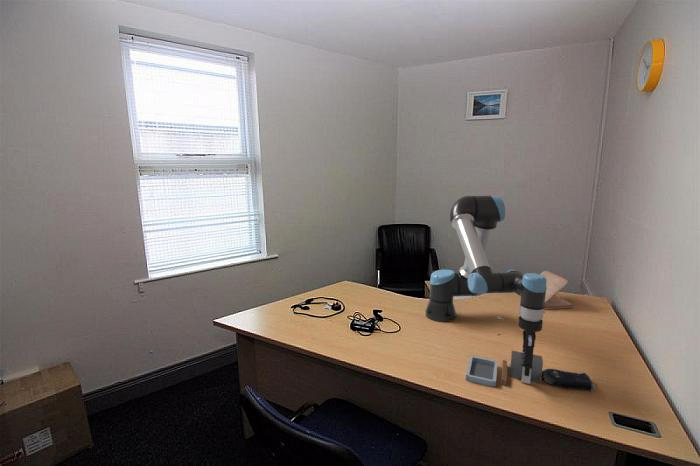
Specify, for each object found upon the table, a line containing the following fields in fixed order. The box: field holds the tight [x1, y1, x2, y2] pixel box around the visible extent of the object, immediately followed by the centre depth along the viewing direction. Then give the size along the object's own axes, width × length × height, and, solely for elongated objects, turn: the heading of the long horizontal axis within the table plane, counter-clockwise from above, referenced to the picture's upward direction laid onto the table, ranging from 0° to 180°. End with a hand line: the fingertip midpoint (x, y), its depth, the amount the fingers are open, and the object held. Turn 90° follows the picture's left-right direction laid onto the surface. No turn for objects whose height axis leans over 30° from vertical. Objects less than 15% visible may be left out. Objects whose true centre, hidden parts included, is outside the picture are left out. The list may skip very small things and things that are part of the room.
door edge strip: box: [500, 360, 508, 386], centre depth 133 cm, size 2×14×2 cm, turn 156°
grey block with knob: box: [509, 350, 544, 384], centre depth 131 cm, size 10×5×9 cm, turn 66°
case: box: [539, 270, 575, 311], centre depth 201 cm, size 20×21×16 cm
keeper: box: [465, 355, 499, 387], centre depth 134 cm, size 10×15×2 cm, turn 156°
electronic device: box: [541, 368, 596, 392], centre depth 128 cm, size 9×6×15 cm
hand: (525, 375), depth 132 cm, fingers open, 8 cm apart
